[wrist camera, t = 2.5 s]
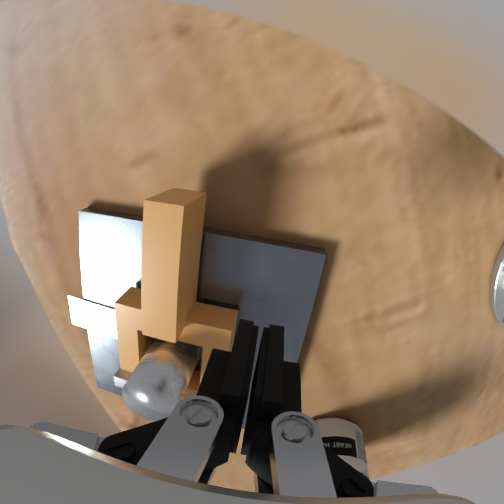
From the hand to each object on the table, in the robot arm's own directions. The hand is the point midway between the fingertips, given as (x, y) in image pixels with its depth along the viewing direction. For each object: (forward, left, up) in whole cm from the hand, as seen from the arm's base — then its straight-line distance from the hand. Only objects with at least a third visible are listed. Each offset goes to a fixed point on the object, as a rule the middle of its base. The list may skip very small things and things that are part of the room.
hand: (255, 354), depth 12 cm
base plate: (+6, +9, -13) cm, 17 cm away
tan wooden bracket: (+6, +5, -11) cm, 14 cm away
